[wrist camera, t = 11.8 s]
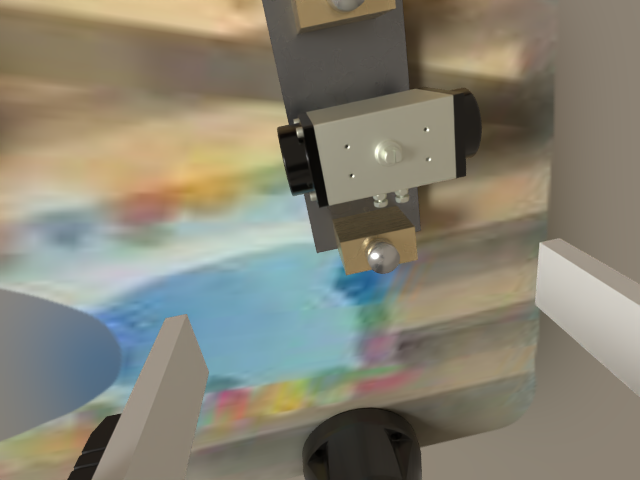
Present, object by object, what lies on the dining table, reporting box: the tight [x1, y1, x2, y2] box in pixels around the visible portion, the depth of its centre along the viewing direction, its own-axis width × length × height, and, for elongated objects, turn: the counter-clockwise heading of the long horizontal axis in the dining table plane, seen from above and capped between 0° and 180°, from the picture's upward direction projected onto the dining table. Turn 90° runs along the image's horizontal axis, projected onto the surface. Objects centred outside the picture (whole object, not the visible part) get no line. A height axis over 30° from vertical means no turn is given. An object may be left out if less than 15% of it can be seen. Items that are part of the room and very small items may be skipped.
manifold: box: [262, 0, 421, 275], centre depth 29 cm, size 21×10×8 cm, turn 11°
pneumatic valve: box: [277, 87, 482, 208], centre depth 26 cm, size 6×12×12 cm, turn 101°
